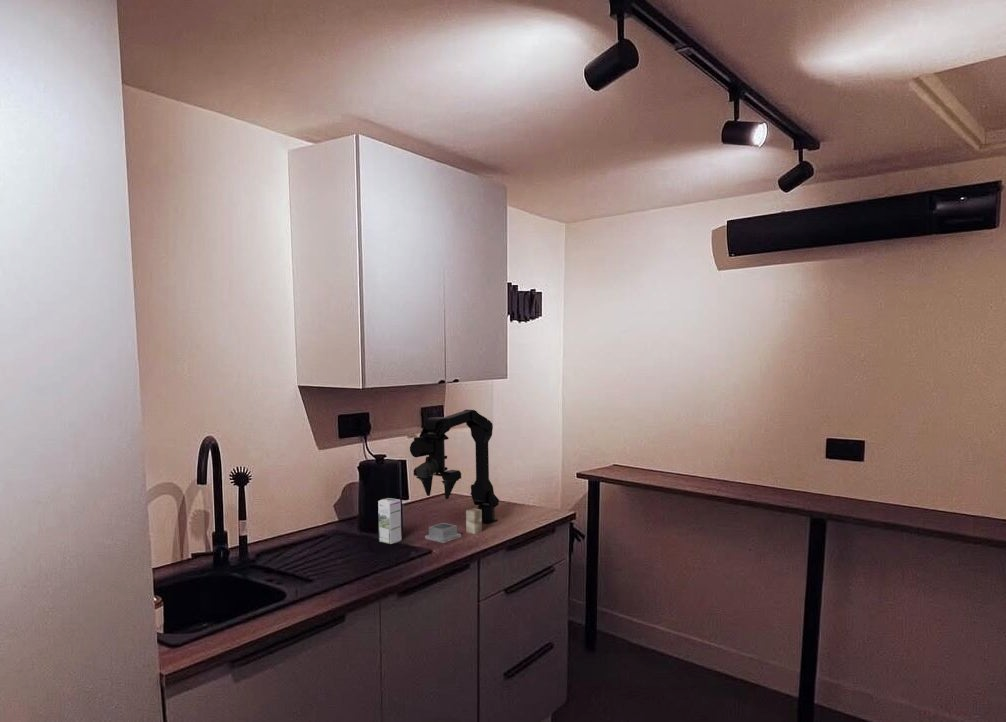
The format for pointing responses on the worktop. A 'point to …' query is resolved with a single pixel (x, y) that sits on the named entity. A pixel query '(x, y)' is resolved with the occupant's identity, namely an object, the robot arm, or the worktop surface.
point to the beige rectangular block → (473, 521)
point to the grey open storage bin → (443, 532)
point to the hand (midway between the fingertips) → (437, 497)
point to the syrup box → (389, 520)
